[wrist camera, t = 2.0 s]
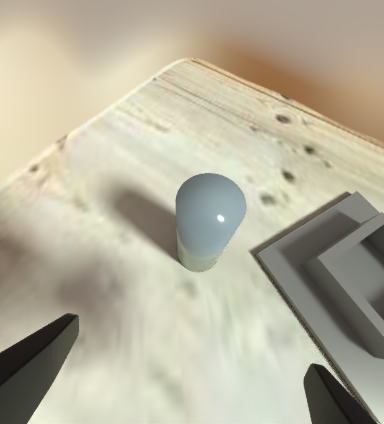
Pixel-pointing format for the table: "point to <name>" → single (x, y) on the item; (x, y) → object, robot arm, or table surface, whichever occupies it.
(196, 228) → the pale blue rounded cylinder
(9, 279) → the table surface
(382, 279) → the grey square socket base
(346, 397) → the robot arm
